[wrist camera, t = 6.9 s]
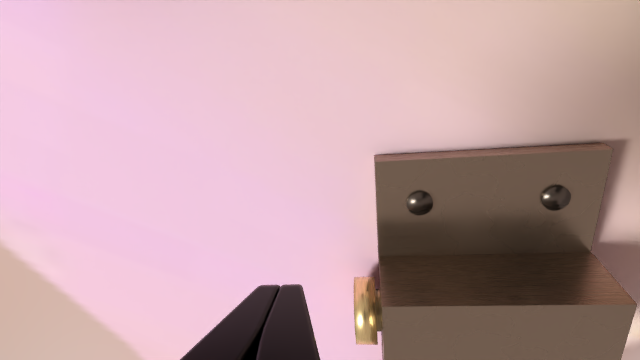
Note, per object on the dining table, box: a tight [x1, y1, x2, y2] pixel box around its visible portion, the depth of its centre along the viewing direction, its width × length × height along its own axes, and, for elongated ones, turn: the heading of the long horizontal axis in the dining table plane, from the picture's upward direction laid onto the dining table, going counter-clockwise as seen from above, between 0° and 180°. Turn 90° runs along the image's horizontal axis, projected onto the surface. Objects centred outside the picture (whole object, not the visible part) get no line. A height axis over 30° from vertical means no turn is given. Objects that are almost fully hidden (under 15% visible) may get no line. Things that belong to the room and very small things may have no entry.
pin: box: [354, 277, 383, 345], centre depth 20 cm, size 12×3×3 cm, turn 95°
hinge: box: [374, 143, 637, 360], centre depth 20 cm, size 10×15×4 cm
